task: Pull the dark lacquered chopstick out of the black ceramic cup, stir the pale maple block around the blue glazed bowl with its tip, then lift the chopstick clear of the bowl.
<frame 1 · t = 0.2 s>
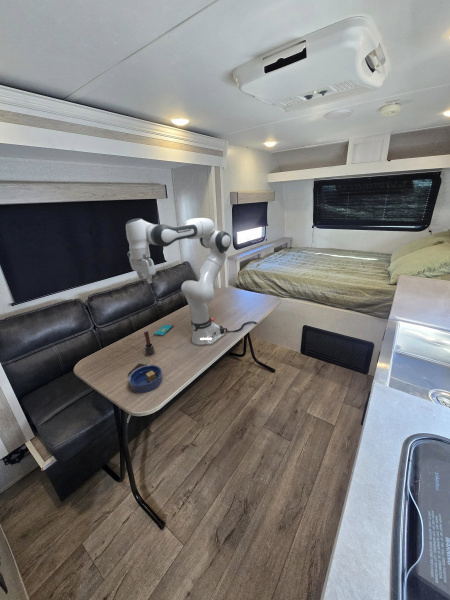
hand: (145, 281, 121), 48 cm above the table, tool pointing down, fingers open, 8 cm apart
block: (151, 379, 122), point 1 cm above the table, touching bowl
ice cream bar: (140, 369, 132), on the table
bowl: (147, 382, 121), on the table
chopstick: (148, 342, 142), in the holder
smartphone: (163, 330, 171), on the table
holder: (150, 353, 145), on the table
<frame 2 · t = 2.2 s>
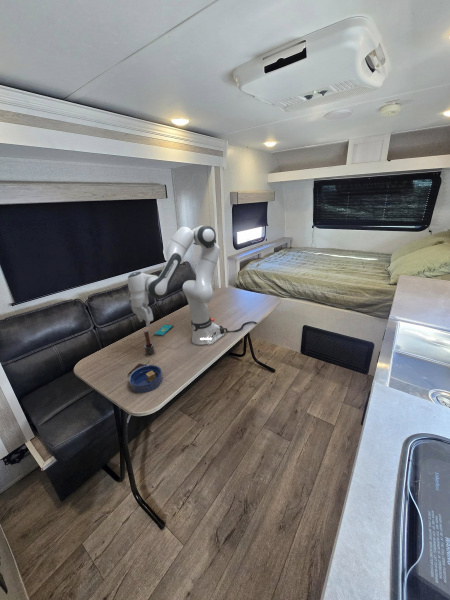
hand: (144, 323, 137), 21 cm above the table, tool pointing down, fingers open, 8 cm apart
nothing on the table moved.
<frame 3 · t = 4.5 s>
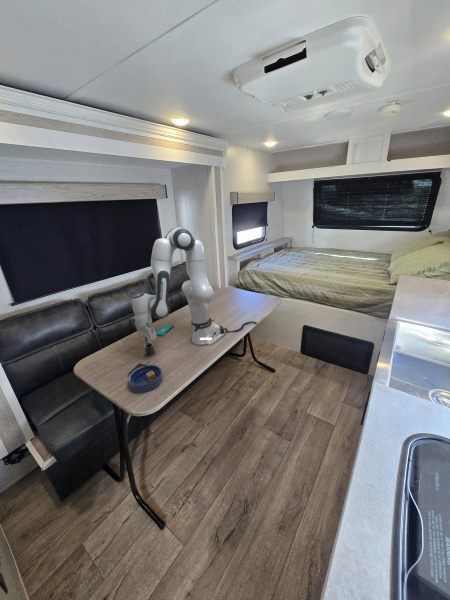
hand: (148, 341, 142), 9 cm above the table, tool pointing down, fingers closed on chopstick, 2 cm apart
chopstick: (148, 342, 142), in the holder, touching gripper
everything else where it was.
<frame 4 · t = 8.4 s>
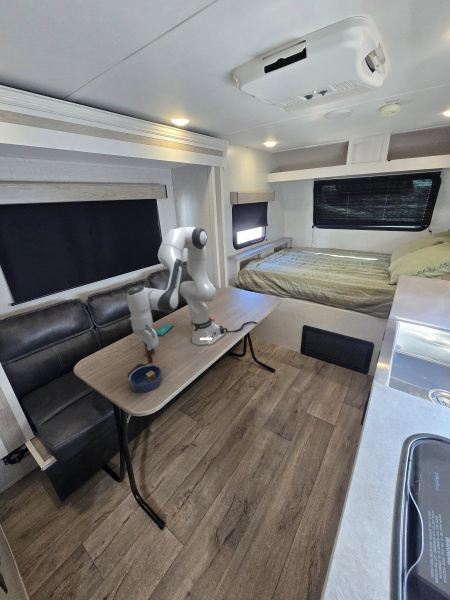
hand: (147, 348, 113), 20 cm above the table, tool pointing down, fingers closed on chopstick, 2 cm apart
chopstick: (147, 349, 114), point 20 cm above the table, touching gripper
everything else where it was.
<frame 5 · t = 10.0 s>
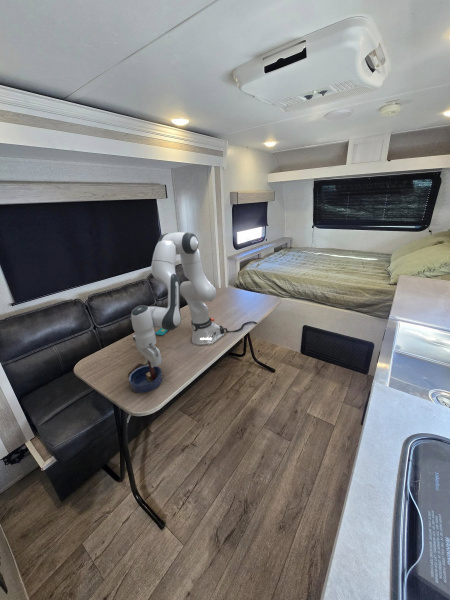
hand: (151, 365, 116), 12 cm above the table, tool pointing down, fingers closed on chopstick, 2 cm apart
chopstick: (151, 366, 116), point 11 cm above the table, touching gripper
everything else where it was.
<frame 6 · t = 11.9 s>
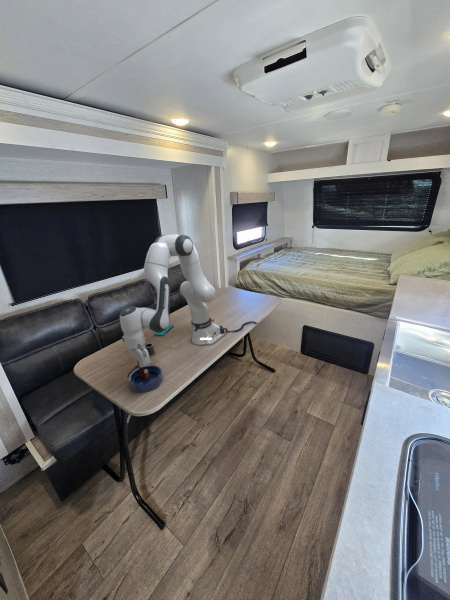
hand: (140, 365, 118), 11 cm above the table, tool pointing down, fingers closed on chopstick, 2 cm apart
block: (145, 377, 124), point 1 cm above the table, touching bowl
chopstick: (140, 366, 118), point 10 cm above the table, touching gripper
everything else where it was.
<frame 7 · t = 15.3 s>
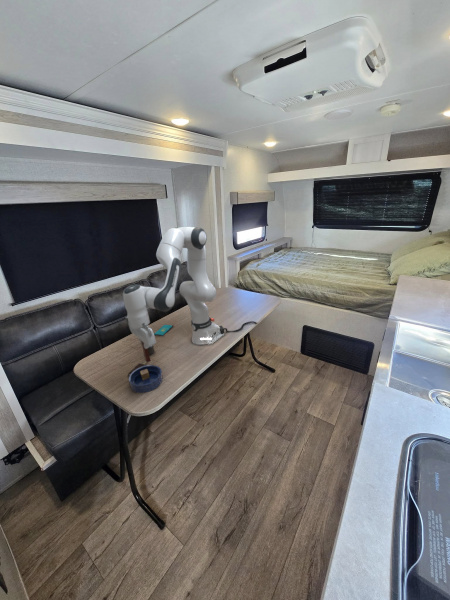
hand: (144, 346, 114), 21 cm above the table, tool pointing down, fingers closed on chopstick, 2 cm apart
chopstick: (145, 348, 114), point 20 cm above the table, touching gripper
everything else where it was.
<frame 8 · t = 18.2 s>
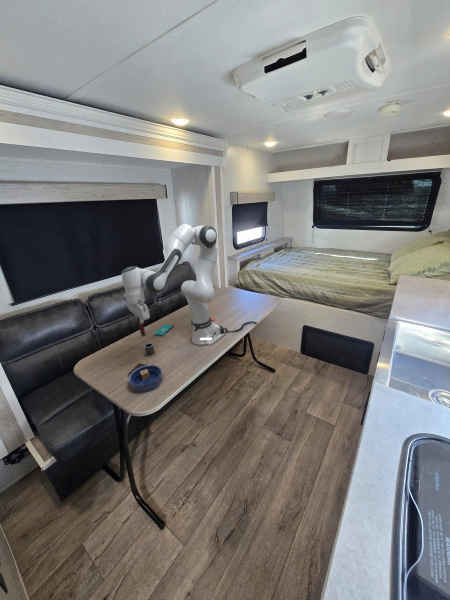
hand: (140, 322, 129), 25 cm above the table, tool pointing down, fingers closed on chopstick, 2 cm apart
chopstick: (140, 323, 129), point 24 cm above the table, touching gripper
everything else where it was.
at the end: block moved 4.0 cm from its start; block inside the target area in the bowl (3.8 cm from its centre), point 0.8 cm above the bowl's base; chopstick point 24.3 cm above the table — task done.
